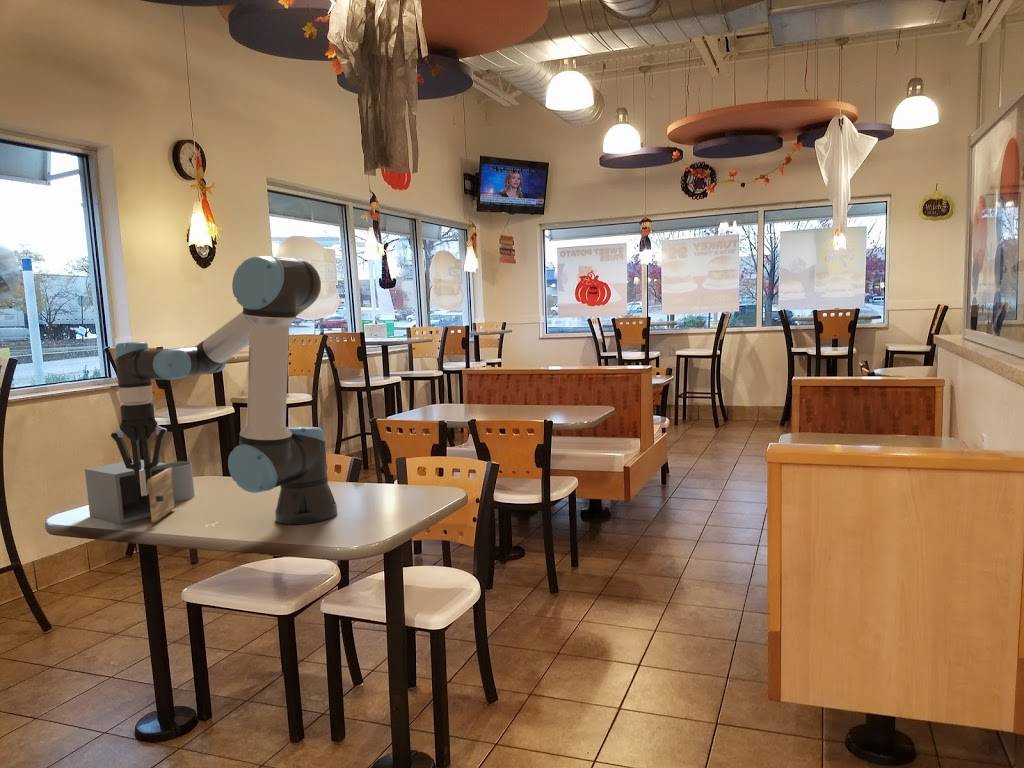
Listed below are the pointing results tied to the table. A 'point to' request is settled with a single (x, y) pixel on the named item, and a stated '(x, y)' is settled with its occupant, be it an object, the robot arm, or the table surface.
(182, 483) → the cup
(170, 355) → the robot arm
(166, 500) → the wooden cabinet door
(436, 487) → the table surface
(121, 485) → the grey open box
